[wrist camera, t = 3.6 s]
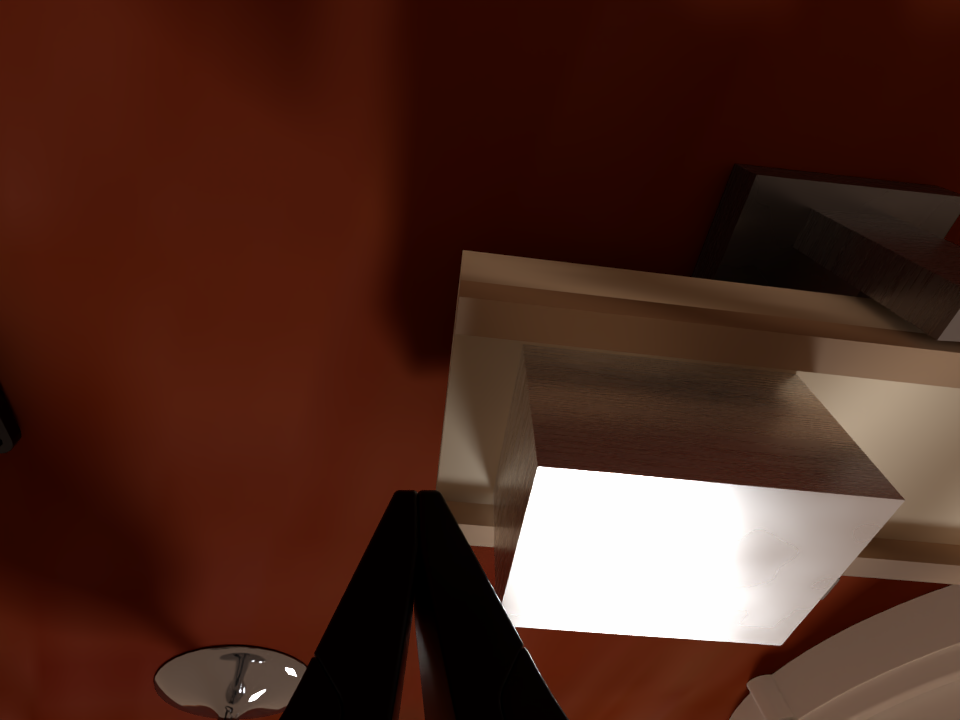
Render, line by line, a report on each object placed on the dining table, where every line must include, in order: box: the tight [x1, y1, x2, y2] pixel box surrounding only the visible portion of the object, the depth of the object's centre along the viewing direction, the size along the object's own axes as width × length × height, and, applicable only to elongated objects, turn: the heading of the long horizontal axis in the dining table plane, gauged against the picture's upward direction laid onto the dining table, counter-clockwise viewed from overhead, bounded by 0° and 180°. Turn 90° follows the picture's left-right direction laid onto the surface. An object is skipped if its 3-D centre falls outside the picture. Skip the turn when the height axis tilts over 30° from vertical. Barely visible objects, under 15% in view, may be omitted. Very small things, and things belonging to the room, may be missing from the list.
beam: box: [436, 250, 960, 585], centre depth 14 cm, size 24×7×3 cm, turn 83°
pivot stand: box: [692, 164, 960, 600], centre depth 14 cm, size 6×11×6 cm, turn 173°
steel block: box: [493, 344, 905, 645], centre depth 11 cm, size 6×4×4 cm
